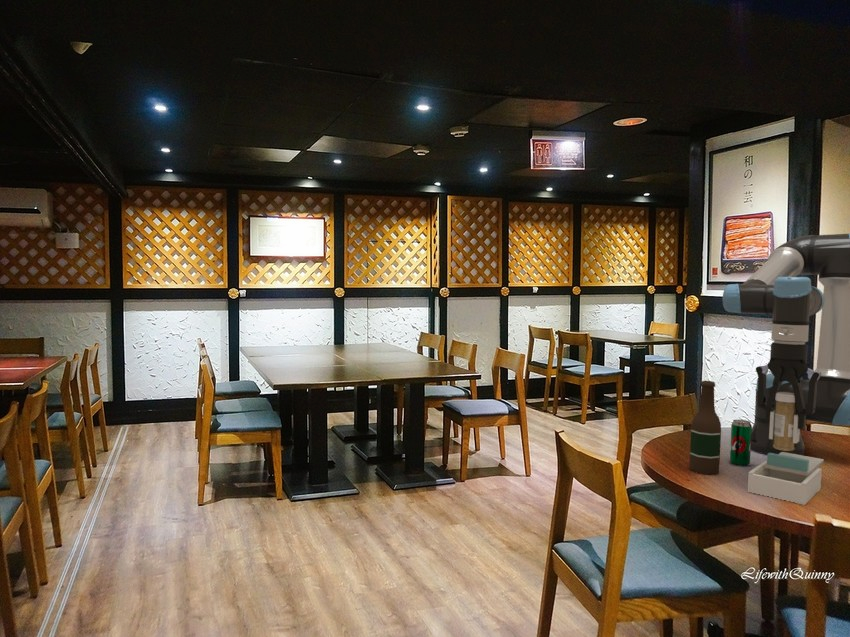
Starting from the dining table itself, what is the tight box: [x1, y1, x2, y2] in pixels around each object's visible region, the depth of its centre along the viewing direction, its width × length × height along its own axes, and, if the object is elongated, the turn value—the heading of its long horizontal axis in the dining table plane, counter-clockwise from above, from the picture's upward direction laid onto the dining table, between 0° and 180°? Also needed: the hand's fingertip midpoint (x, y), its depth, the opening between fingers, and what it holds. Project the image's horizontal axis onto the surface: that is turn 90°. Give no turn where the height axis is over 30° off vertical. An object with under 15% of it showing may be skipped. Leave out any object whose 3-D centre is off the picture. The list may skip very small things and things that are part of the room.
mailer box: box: [747, 459, 823, 506], centre depth 153 cm, size 16×12×5 cm
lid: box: [764, 452, 825, 476], centre depth 159 cm, size 16×10×3 cm, turn 137°
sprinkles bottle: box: [773, 392, 796, 451], centre depth 150 cm, size 5×5×13 cm
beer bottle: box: [689, 380, 722, 476], centre depth 168 cm, size 8×8×24 cm
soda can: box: [729, 418, 753, 467], centre depth 175 cm, size 5×5×12 cm
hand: (783, 439), depth 150 cm, fingers closed on sprinkles bottle, 4 cm apart
